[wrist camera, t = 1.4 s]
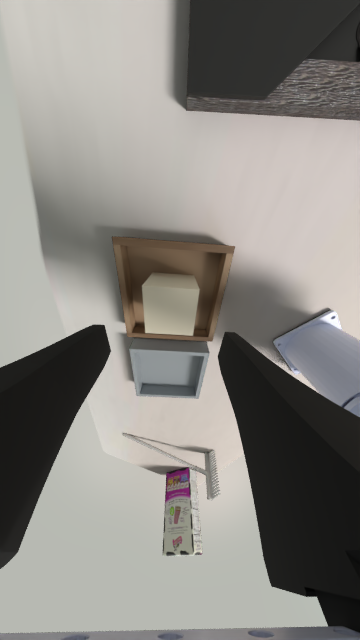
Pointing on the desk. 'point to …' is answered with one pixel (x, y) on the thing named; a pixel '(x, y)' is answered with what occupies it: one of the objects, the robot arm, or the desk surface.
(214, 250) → the walnut tray
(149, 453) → the desk surface
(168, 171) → the desk surface
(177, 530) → the candy bar box
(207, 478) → the brush
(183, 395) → the grey tray
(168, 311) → the sandstone block
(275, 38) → the picture frame
